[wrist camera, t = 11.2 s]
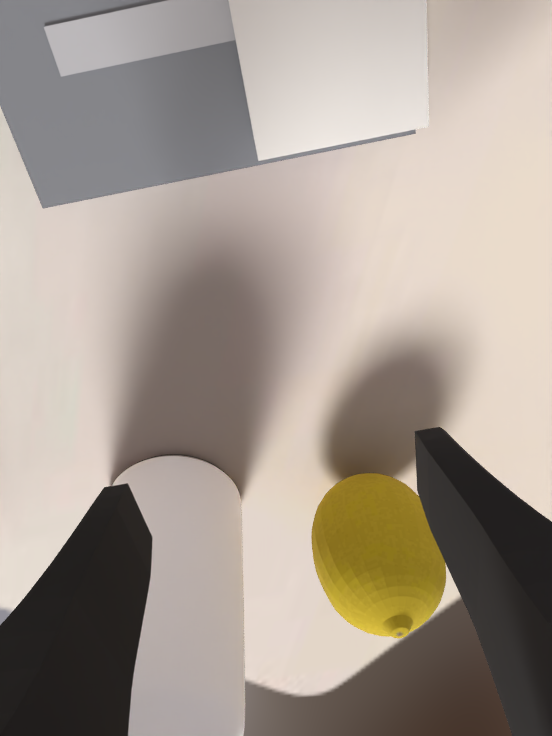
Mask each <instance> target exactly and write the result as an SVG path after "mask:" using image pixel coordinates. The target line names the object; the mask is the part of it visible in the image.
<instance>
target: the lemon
mask: <svg viewBox="0 0 552 736" xmlns="http://www.w3.org/2000/svg"><path fill="white" fill-rule="evenodd" d="M312 550H313V559H314V564H315V568H316V572H317V575H318V577H319V580H320V582H321V585H322V587H323V589H324V591H325V593H326V595H327V597H328V598H329V600H330V602H331V604H332V605H333V607H334V608H335V610H336V611H337V612H338V613H339V614H340V615H341V616H342V617H343V618H344V619H345V620H346V621H347V622H349V623H350V624H351V625H353V626H354V627H356V628H358V629H361V630H363V631H365V632H367V633H370V634H374V635H379V636H392V637H394V638H402V637H405V636H406V635H408V633H409V632H411V631H413V630H415V629H416V628H418V627H420V626H421V625H422V624H423V623H424V622H426V621H427V620H428V619H429V618H430V616H431V615H432V614H433V613H434V611H435V610H436V608H437V607H438V605H439V603H440V601H441V598H442V595H443V592H444V588H445V583H446V566H445V560H444V558H443V556H442V554H441V552H440V550H439V547H438V545H437V543H436V541H435V539H434V537H433V534H432V532H431V530H430V527H429V524H428V522H427V519H426V516H425V513H424V510H423V506H422V503H421V500H420V497H419V496H418V495H417V494H416V493H415V492H414V491H413V490H412V489H411V488H409V487H408V486H407V485H406V484H404V483H402V482H401V481H399V480H397V479H395V478H393V477H390V476H387V475H382V474H378V473H363V474H357V475H353V476H351V477H348V478H346V479H344V480H342V481H341V482H339V483H337V484H336V485H335V486H333V487H332V488H331V489H330V490H329V491H328V492H327V493H326V495H325V496H324V498H323V499H322V501H321V502H320V504H319V506H318V508H317V511H316V514H315V518H314V522H313V527H312Z"/></svg>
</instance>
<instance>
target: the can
mask: <svg viewBox="0 0 552 736" xmlns="http://www.w3.org/2000/svg"><path fill="white" fill-rule="evenodd" d="M126 483H128V485H129V487H130V489H131V491H132V493H133V496H134V498H135V500H136V502H137V504H138V507H139V509H140V511H141V513H142V515H143V518H144V520H145V522H146V524H147V526H148V529H149V531H150V533H151V535H152V537H153V538H152V563H151V577H150V584H149V590H148V595H147V601H146V607H145V613H144V618H143V624H142V629H141V635H140V640H139V646H138V651H137V657H136V662H135V668H134V675H133V683H132V691H131V704H130V716H129V728H128V736H243V734H244V725H245V662H244V598H243V546H242V510H241V498H240V494H239V491H238V489H237V487H236V485H235V484H234V482H233V481H232V480H231V479H230V478H229V477H228V476H227V475H226V474H225V473H224V472H223V471H221V470H220V469H218V468H217V467H215V466H213V465H212V464H210V463H208V462H206V461H203V460H201V459H197V458H194V457H189V456H182V455H165V456H158V457H154V458H150V459H147V460H144V461H142V462H139V463H137V464H135V465H133V466H131V467H129V468H128V469H126V470H125V471H124V472H123V473H121V474H120V475H119V476H118V478H117V479H116V480H115V481H114V483H113V485H112V486H115V485H121V484H126Z"/></svg>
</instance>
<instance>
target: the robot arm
mask: <svg viewBox="0 0 552 736" xmlns="http://www.w3.org/2000/svg"><path fill="white" fill-rule="evenodd" d="M415 447H416V470H417V491H418V494H419V497H420V500H421V503H422V506H423V510H424V513H425V516H426V519H427V522H428V524H429V527H430V530H431V532H432V534H433V537H434V539H435V541H436V543H437V545H438V547H439V550H440V552H441V554H442V556H443V558H444V560H445V563H446V565H447V567H448V569H449V571H450V573H451V575H452V578H453V580H454V582H455V584H456V586H457V588H458V591H459V593H460V595H461V597H462V599H463V601H464V603H465V606H466V608H467V610H468V612H469V614H470V617H471V619H472V622H473V624H474V626H475V629H476V631H477V634H478V637H479V640H480V643H481V646H482V648H483V651H484V654H485V657H486V659H487V662H488V665H489V668H490V671H491V673H492V676H493V679H494V682H495V685H496V688H497V691H498V694H499V697H500V700H501V703H502V706H503V709H504V711H505V715H506V718H507V721H508V724H509V727H510V730H511V733H512V736H552V522H551V521H550V520H549V519H547V518H546V517H544V516H543V515H542V514H540V513H539V512H538V511H536V510H535V509H533V508H532V507H531V506H530V505H528V504H527V503H526V502H524V501H523V500H522V499H520V498H519V497H518V496H517V495H515V494H514V493H513V492H512V491H510V490H509V489H508V488H507V487H506V486H504V485H503V484H502V483H501V482H500V481H498V480H497V479H496V478H495V477H494V476H493V475H491V474H490V473H489V472H488V471H487V470H486V469H485V468H483V467H482V466H481V465H480V464H479V463H478V462H477V461H476V460H475V459H473V458H472V457H471V456H470V455H469V454H468V453H467V452H466V451H465V450H464V449H463V448H462V447H461V446H460V445H459V444H458V443H457V442H456V441H455V440H454V439H453V438H452V437H451V436H450V435H449V434H448V433H447V432H446V431H445V430H443V429H442V428H441V427H437V428H431V429H425V430H420V431H415ZM152 538H153V537H152V535H151V533H150V531H149V529H148V526H147V524H146V522H145V520H144V518H143V515H142V513H141V511H140V509H139V507H138V504H137V502H136V500H135V498H134V496H133V493H132V491H131V489H130V487H129V485H128V483H126V484H121V485H115V486H109V487H104V489H103V490H102V491H101V493H100V494H99V496H98V497H97V498H96V500H95V501H94V503H93V504H92V506H91V507H90V509H89V510H88V511H87V513H86V514H85V516H84V517H83V519H82V520H81V522H80V523H79V525H78V526H77V528H76V529H75V530H74V532H73V533H72V535H71V536H70V538H69V539H68V540H67V542H66V543H65V545H64V546H63V547H62V549H61V550H60V552H59V553H58V554H57V556H56V557H55V559H54V560H53V561H52V563H51V564H50V566H49V567H48V568H47V569H46V571H45V572H44V573H43V575H42V576H41V577H40V578H39V580H38V581H37V582H36V584H35V585H34V586H33V587H32V589H31V590H30V591H29V593H28V594H27V595H26V596H25V598H24V599H23V600H22V601H21V602H20V604H19V605H18V606H17V607H16V608H15V609H14V611H13V612H12V613H11V614H10V615H9V616H8V617H7V619H6V620H5V621H4V622H3V623H2V624H1V625H0V736H128V728H129V716H130V704H131V691H132V683H133V675H134V668H135V662H136V657H137V651H138V646H139V640H140V635H141V629H142V624H143V618H144V613H145V607H146V601H147V595H148V590H149V584H150V577H151V563H152Z"/></svg>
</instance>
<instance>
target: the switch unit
mask: <svg viewBox="0 0 552 736" xmlns="http://www.w3.org/2000/svg"><path fill="white" fill-rule="evenodd" d="M0 106H1V109H2V111H3V113H4V116H5V118H6V121H7V123H8V125H9V128H10V130H11V133H12V135H13V138H14V140H15V142H16V145H17V147H18V150H19V152H20V154H21V157H22V159H23V162H24V164H25V167H26V169H27V171H28V174H29V176H30V179H31V181H32V183H33V186H34V188H35V191H36V193H37V195H38V198H39V200H40V203H41V205H42V208H48V207H53V206H58V205H63V204H68V203H73V202H78V201H83V200H88V199H93V198H97V197H102V196H107V195H112V194H117V193H122V192H127V191H132V190H137V189H142V188H147V187H152V186H157V185H162V184H167V183H172V182H177V181H182V180H187V179H192V178H197V177H202V176H207V175H212V174H217V173H222V172H227V171H232V170H237V169H242V168H247V167H252V166H257V165H262V164H267V163H272V162H277V161H282V160H287V159H292V158H296V157H301V156H306V155H311V154H316V153H321V152H326V151H331V150H336V149H341V148H346V147H351V146H356V145H361V144H366V143H371V142H376V141H381V140H386V139H391V138H396V137H401V136H406V135H411V134H416V133H415V130H410V131H405V132H400V133H395V134H390V135H385V136H381V137H376V138H371V139H366V140H361V141H356V142H351V143H346V144H341V145H336V146H331V147H326V148H321V149H316V150H311V151H306V152H301V153H296V154H291V155H286V156H281V157H276V158H271V159H266V160H261V161H258V156H257V151H256V146H255V141H254V136H253V131H252V125H251V120H250V115H249V109H248V104H247V98H246V93H245V88H244V82H243V77H242V72H241V66H240V61H239V55H238V50H237V45H236V39H235V34H234V28H233V23H232V18H231V12H230V7H229V1H228V0H0Z"/></svg>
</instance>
